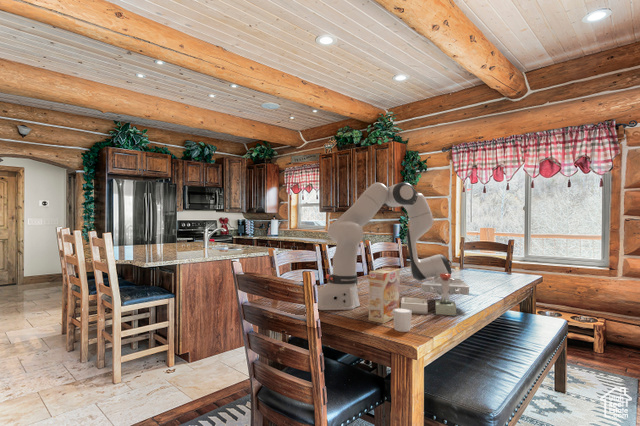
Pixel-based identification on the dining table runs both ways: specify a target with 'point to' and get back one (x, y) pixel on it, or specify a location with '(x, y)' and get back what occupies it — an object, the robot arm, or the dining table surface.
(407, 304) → the tray
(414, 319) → the dining table surface
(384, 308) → the coffeecake box
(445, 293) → the pin
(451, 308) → the socket block
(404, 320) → the shot glass
